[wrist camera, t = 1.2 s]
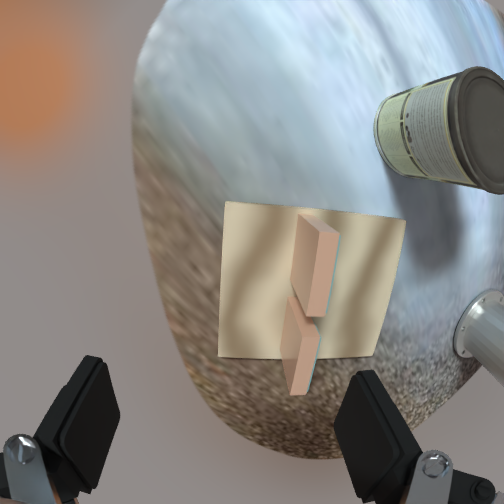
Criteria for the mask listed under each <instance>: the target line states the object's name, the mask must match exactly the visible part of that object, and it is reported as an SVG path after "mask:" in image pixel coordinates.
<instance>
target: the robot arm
mask: <svg viewBox="0 0 504 504" xmlns="http://www.w3.org/2000/svg"><path fill="white" fill-rule="evenodd" d="M454 348H455V351H456V352H457V353H458V354H459V355H460V356H461V357H463V358H469V357H472V356H474V357H475V358H476V359H477V360H478V361H479V362H480V363H481V364H482V365H483V366H484V367H485V368H486V369H487V370H488V371H489V372H490V373H491V374H492V375H493V376H494V377H495V378H496V380H497V381H498V382H499V383H500V384H501V385H502V386H503V387H504V296H503V295H502V293H500V292H499V291H497V290H495V289H490V290H487V291H485V292H483V293H481V294H480V295H479V296H478V297H476V298H475V299H474V300H473V301H472V302H471V304H470V305H469V306H468V308H467V309H466V311H465V312H464V314H463V315H462V317H461V319H460V321H459V323H458V326H457V328H456V332H455V336H454ZM119 420H120V411H119V408H118V404H117V401H116V397H115V394H114V390H113V387H112V383H111V379H110V375H109V371H108V366H107V364H106V363H104V362H103V360H102V359H101V358H99V357H94V356H89V355H87V356H85V357H84V358H83V360H82V362H81V363H80V365H79V366H78V367H77V369H76V371H75V372H74V374H73V375H72V377H71V378H70V380H69V382H68V383H67V385H65V386H64V387H63V388H62V389H61V391H60V392H59V394H58V396H57V397H56V399H55V400H54V402H53V404H52V405H51V407H50V409H49V410H48V412H47V414H46V415H45V417H44V419H43V420H42V422H41V424H40V426H39V427H38V429H37V431H36V433H35V434H34V436H33V437H31V436H29V435H26V434H17V435H13V436H12V437H10V438H9V439H8V440H7V441H6V442H5V445H4V447H3V453H0V504H79V502H78V500H77V497H78V495H79V492H80V491H82V492H85V493H88V494H90V493H91V491H92V489H95V488H96V487H97V485H98V482H99V479H100V476H101V473H102V469H103V467H104V463H105V460H106V457H107V455H108V452H109V448H110V446H111V443H112V440H113V437H114V434H115V431H116V429H117V426H118V423H119ZM334 431H335V434H336V436H337V439H338V442H339V445H340V448H341V451H342V454H343V457H344V460H345V463H346V466H347V469H348V472H349V475H350V477H351V481H352V484H353V487H354V489H355V493H356V495H357V497H358V498H361V499H362V502H363V503H367V502H371V501H375V503H376V504H504V493H501V492H500V491H499V492H498V493H495V487H494V486H493V484H492V483H491V482H490V481H489V480H487V479H485V478H482V477H478V476H474V475H471V474H467V473H464V472H461V471H458V470H454V469H453V463H452V461H451V459H450V458H449V456H448V455H447V454H445V453H444V452H441V451H438V450H430V451H426V452H424V453H423V452H422V450H421V448H420V447H419V445H418V443H417V441H416V440H415V438H414V436H413V434H412V432H411V431H410V429H409V427H408V425H407V424H406V422H405V420H404V419H403V417H402V415H401V413H400V412H399V410H398V408H397V407H396V405H395V404H394V402H393V401H392V399H391V398H390V396H389V394H388V393H387V391H386V389H385V388H384V386H383V384H382V383H381V381H380V379H379V378H378V376H377V374H376V373H375V371H374V370H364V371H358V372H357V373H356V375H353V376H352V378H351V380H350V383H349V386H348V389H347V391H346V394H345V397H344V399H343V402H342V404H341V407H340V409H339V412H338V414H337V417H336V419H335V422H334Z"/></svg>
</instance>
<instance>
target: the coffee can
mask: <svg viewBox="0 0 504 504" xmlns="http://www.w3.org/2000/svg"><path fill="white" fill-rule="evenodd" d="M374 136H375V141H376V145H377V147H378V150H379V152H380V154H381V156H382V158H383V159H384V160H385V162H386V163H387V165H388V166H390V167H391V168H392V169H393V170H394V171H395V172H397V173H398V174H400V175H402V176H405V177H408V178H420V179H427V180H433V181H439V182H445V183H451V184H457V185H462V186H467V187H472V188H477V189H482V190H485V191H487V192H489V193H493V194H498V195H502V194H504V80H503V79H502V78H501V77H500V76H499V75H497V74H496V73H495V72H493V71H492V70H490V69H488V68H485V67H478V66H476V67H471V68H468V69H466V70H464V71H463V72H460V73H456V74H453V75H450V76H447V77H444V78H441V79H437V80H434V81H432V82H429V83H426V84H423V85H420V86H417V87H414V88H411V89H408V90H406V91H403V92H400V93H396V94H393V95H391V96H389V97H387V98H386V99H385V100H384V101H383V102H382V103H381V104H380V106H379V108H378V110H377V112H376V115H375V120H374Z"/></svg>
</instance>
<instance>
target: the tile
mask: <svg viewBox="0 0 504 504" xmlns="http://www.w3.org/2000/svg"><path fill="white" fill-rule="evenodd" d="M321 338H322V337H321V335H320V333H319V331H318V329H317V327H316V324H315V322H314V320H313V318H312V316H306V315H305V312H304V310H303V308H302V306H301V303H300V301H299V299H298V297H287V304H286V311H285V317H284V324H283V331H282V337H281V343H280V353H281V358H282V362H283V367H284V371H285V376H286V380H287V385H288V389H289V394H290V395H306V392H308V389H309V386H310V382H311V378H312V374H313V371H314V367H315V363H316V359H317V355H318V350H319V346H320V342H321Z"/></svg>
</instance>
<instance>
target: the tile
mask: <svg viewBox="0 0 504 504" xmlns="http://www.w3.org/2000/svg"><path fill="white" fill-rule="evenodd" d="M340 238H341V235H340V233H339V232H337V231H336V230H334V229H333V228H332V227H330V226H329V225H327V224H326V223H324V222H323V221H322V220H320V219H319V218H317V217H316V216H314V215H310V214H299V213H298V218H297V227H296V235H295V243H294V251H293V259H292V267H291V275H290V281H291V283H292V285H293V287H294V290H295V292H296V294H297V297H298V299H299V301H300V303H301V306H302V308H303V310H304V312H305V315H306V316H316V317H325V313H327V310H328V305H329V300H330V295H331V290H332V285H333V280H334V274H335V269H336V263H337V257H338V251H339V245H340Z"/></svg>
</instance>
